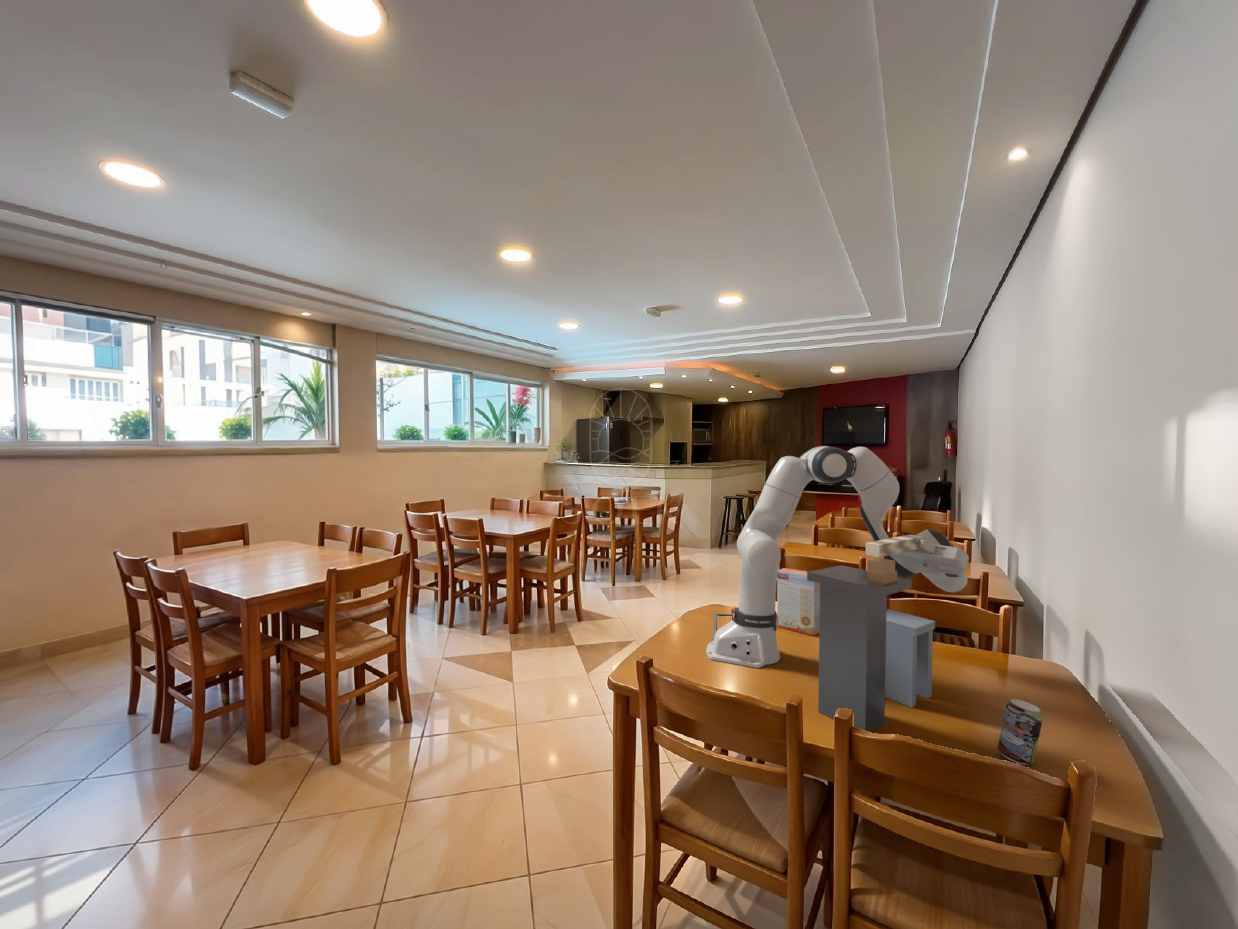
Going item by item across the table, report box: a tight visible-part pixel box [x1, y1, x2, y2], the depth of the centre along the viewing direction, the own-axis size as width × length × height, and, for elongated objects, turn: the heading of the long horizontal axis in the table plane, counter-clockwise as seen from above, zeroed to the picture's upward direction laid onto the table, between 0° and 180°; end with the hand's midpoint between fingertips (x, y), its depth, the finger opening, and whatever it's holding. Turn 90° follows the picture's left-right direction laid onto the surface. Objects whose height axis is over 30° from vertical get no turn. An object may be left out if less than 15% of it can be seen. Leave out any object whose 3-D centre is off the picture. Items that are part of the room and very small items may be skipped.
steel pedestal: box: [806, 557, 912, 732], centre depth 124 cm, size 14×18×39 cm
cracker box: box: [776, 567, 820, 637], centre depth 183 cm, size 14×6×21 cm, turn 44°
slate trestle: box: [885, 608, 936, 708], centre depth 135 cm, size 10×12×20 cm
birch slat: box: [864, 533, 925, 558], centre depth 132 cm, size 22×4×3 cm, turn 124°
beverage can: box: [997, 698, 1044, 766], centre depth 106 cm, size 6×7×12 cm
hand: (910, 540), depth 136 cm, fingers closed on birch slat, 3 cm apart
